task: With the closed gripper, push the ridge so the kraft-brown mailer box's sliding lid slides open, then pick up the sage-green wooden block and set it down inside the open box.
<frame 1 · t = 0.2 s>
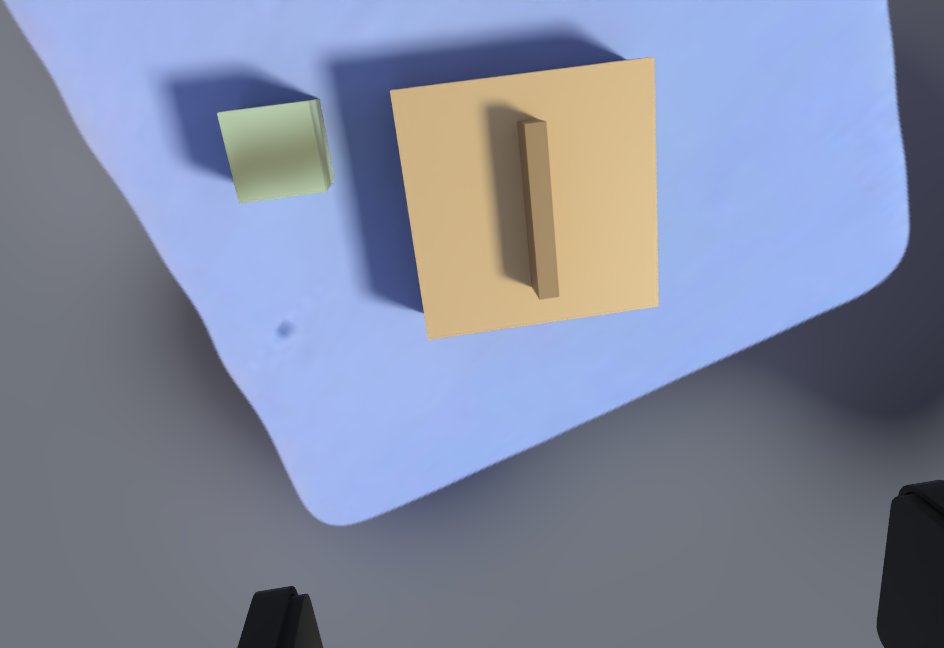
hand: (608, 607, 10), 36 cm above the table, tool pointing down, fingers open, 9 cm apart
green block: (287, 145, 41), on the table
mailer lid: (537, 209, 38), point 6 cm above the table, slide at 0.0 cm
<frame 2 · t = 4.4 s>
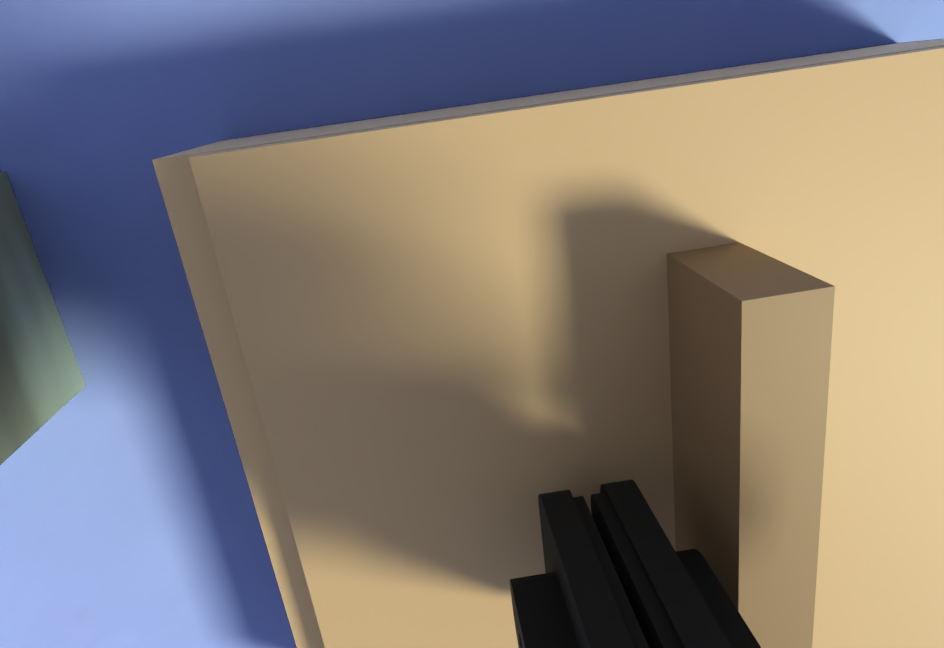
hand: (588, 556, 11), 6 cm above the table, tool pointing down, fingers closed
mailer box: (591, 398, 17), on the table
mailer lid: (729, 540, 11), point 6 cm above the table, slide at 0.9 cm, touching gripper
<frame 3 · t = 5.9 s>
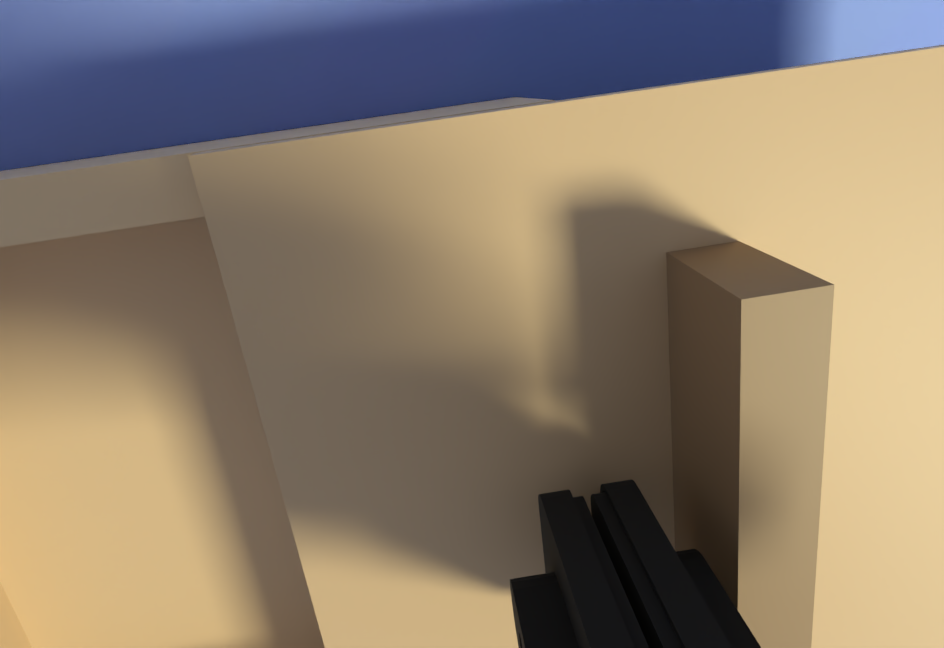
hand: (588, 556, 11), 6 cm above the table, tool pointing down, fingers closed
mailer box: (253, 453, 16), on the table
mailer lid: (728, 538, 11), point 6 cm above the table, slide at 9.5 cm, touching gripper
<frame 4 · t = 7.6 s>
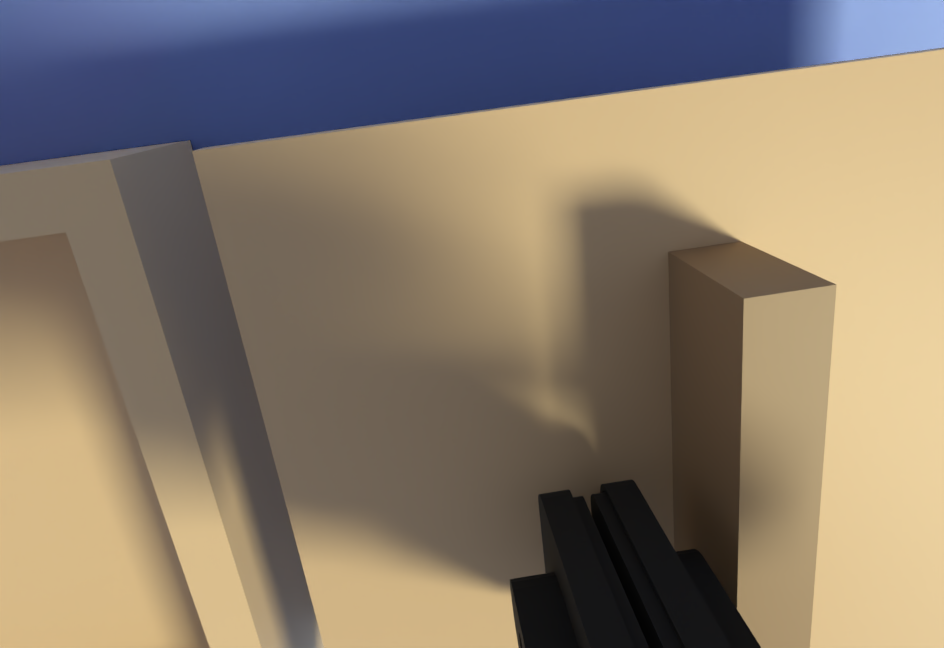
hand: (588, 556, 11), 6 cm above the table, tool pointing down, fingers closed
mailer lid: (728, 538, 11), point 6 cm above the table, slide at 16.5 cm, touching gripper
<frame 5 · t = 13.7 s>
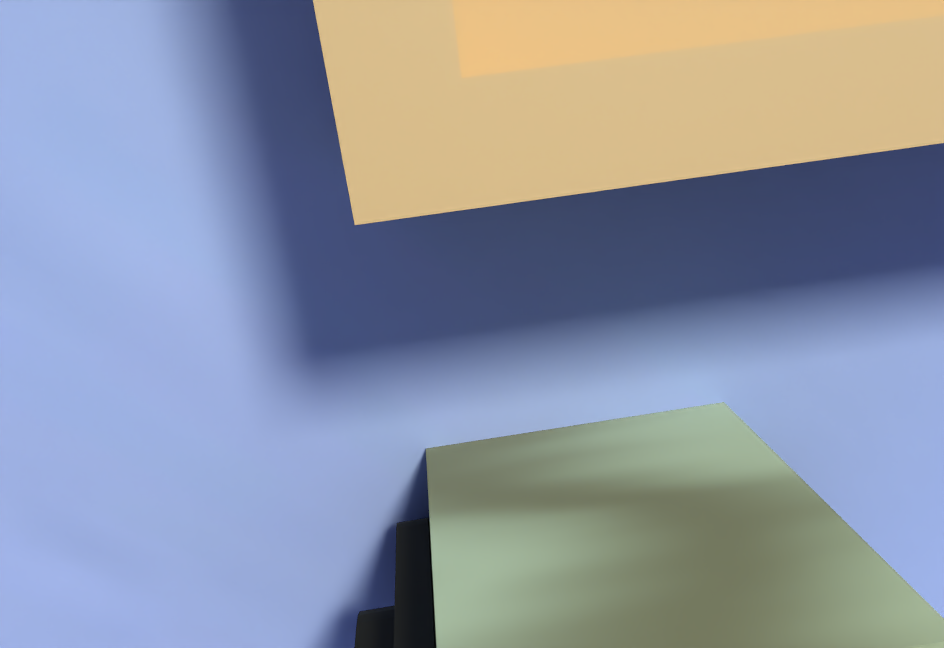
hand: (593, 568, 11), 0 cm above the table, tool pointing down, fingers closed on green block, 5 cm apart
green block: (585, 548, 12), on the table, touching gripper
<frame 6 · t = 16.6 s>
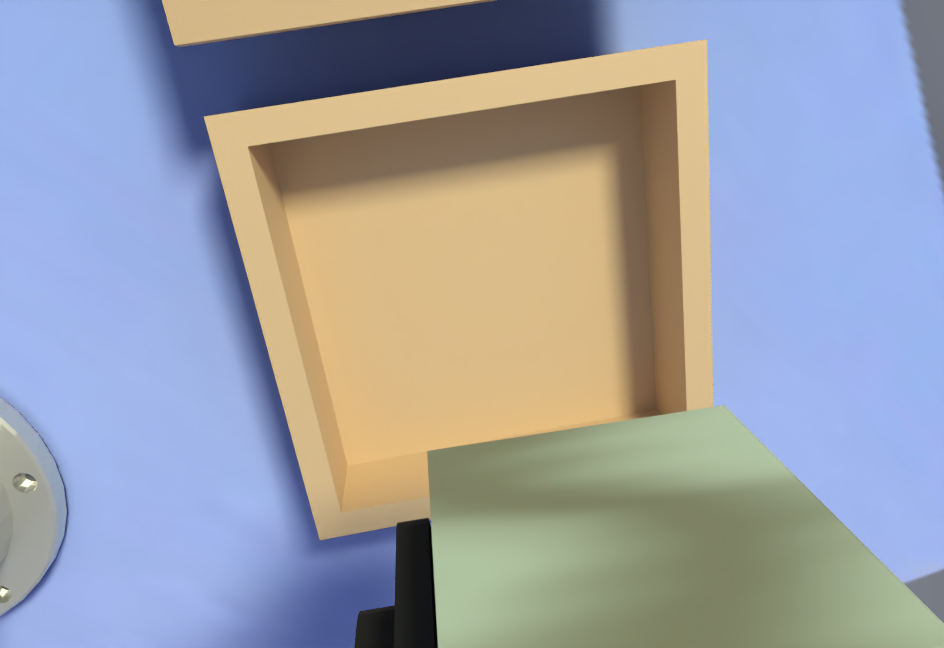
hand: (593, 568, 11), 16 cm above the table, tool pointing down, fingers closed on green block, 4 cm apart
green block: (586, 550, 12), point 15 cm above the table, touching gripper
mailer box: (479, 282, 26), on the table
when the fingers open (2 cm above the table, at t = 19.6 s): green block drops 1 cm, resting on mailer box.
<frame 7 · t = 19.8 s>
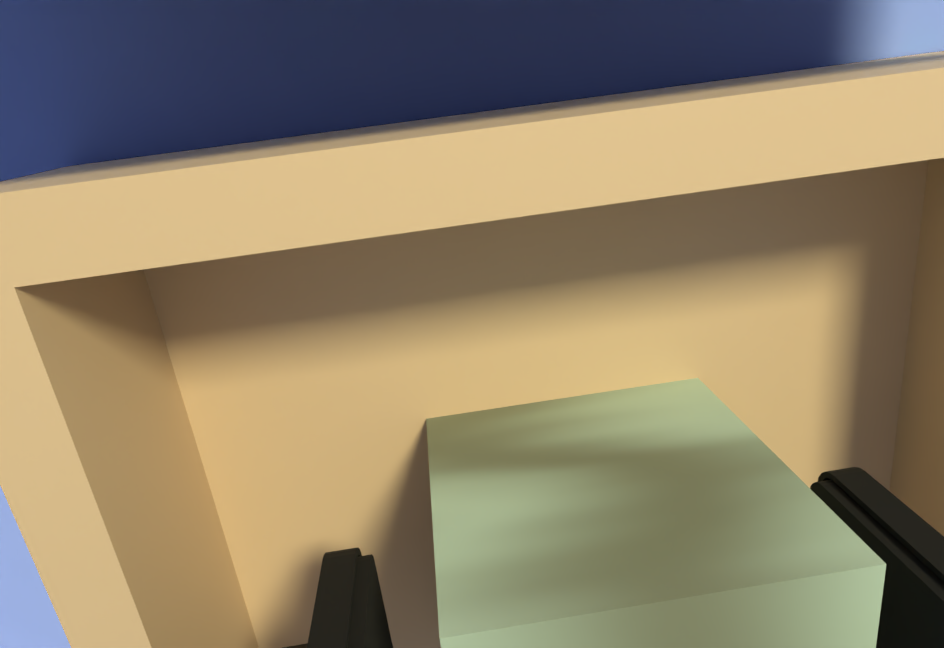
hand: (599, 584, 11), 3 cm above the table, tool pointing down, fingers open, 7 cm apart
green block: (572, 513, 13), point 1 cm above the table, touching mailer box
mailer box: (562, 488, 13), on the table
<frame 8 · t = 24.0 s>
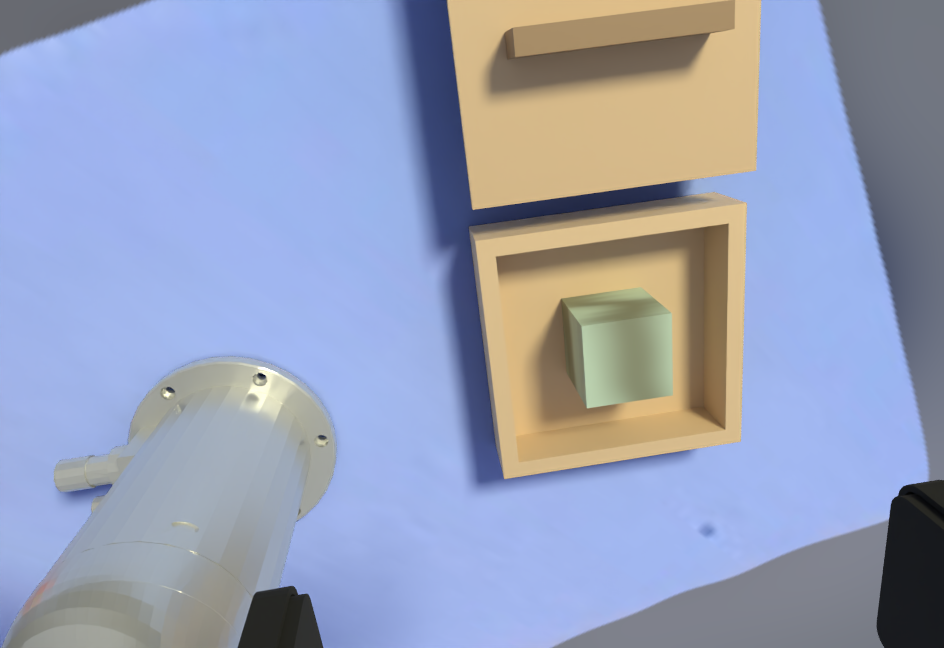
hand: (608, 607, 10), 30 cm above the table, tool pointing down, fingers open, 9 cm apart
green block: (603, 330, 41), point 1 cm above the table, touching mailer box
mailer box: (599, 325, 42), on the table
mailer lid: (614, 31, 30), point 6 cm above the table, slide at 16.8 cm
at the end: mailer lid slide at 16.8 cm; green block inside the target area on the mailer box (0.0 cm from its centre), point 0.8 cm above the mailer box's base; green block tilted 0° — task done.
